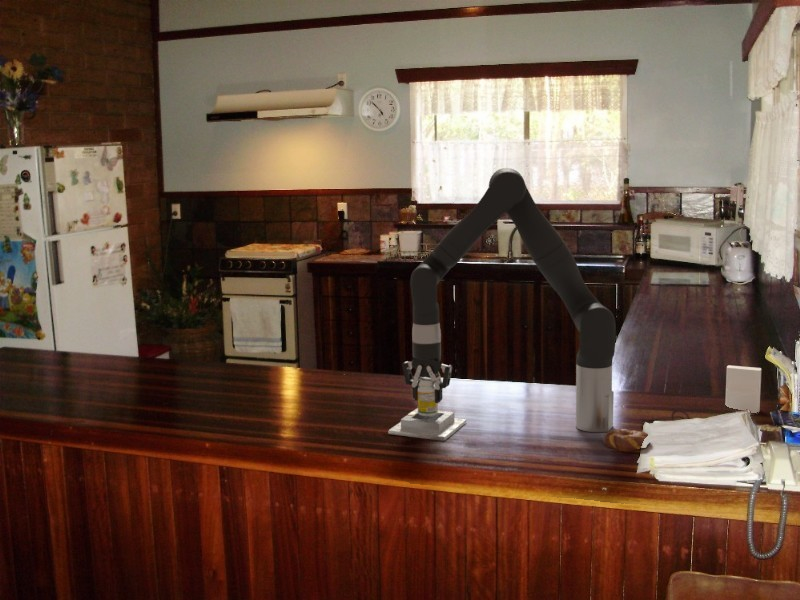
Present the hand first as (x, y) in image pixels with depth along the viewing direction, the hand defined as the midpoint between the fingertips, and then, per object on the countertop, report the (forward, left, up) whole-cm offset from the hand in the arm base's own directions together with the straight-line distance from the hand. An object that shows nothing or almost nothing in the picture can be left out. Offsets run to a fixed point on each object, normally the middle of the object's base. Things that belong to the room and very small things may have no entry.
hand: (427, 401), depth 239 cm
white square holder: (0, 0, -8) cm, 8 cm away
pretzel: (-52, -6, -8) cm, 53 cm away
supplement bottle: (0, 0, -4) cm, 4 cm away
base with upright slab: (-76, -46, -8) cm, 89 cm away
